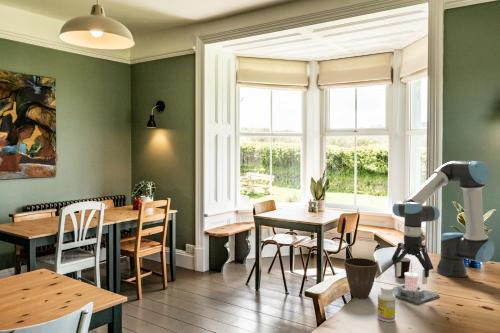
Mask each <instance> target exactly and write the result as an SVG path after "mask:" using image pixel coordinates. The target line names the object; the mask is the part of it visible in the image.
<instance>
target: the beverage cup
mask: <svg viewBox="0 0 500 333" xmlns="http://www.w3.org/2000/svg"><path fill="white" fill-rule="evenodd" d="M404 274H405V279H404V284H405V289H407V290H413V291H414V290H416V289H417V286H418V279H419V274H418V273H417V272H413V263H412V262H410V271H409V272H405V273H404Z"/></svg>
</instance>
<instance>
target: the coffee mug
mask: <svg viewBox="0 0 500 333" xmlns="http://www.w3.org/2000/svg"><path fill="white" fill-rule="evenodd" d="M398 257H399V256H398ZM398 257H397V258H398ZM400 262H401V276H398V277H397V276H396V269H395V261H393V260H392V263H393V267H394V268H393V269H394V276H395V278H397V279H399V280H400V279H401V280H405V274H404V273H405V272H410V268H411V259H410V258H408V257H404V258H403V259H402V260H401V261H400Z"/></svg>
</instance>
